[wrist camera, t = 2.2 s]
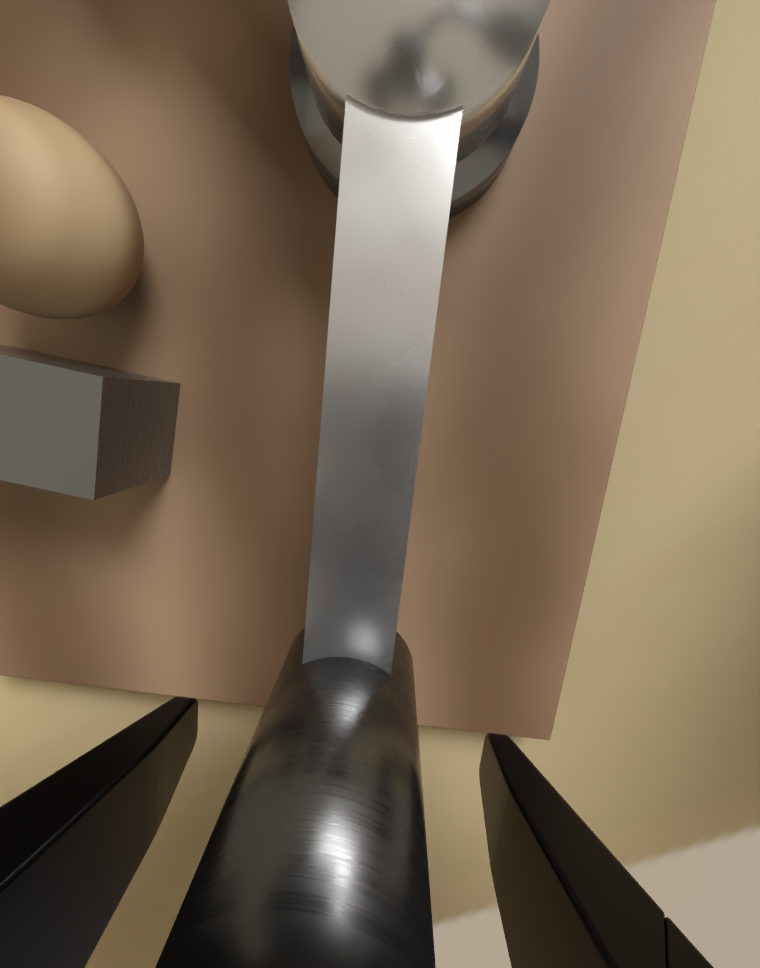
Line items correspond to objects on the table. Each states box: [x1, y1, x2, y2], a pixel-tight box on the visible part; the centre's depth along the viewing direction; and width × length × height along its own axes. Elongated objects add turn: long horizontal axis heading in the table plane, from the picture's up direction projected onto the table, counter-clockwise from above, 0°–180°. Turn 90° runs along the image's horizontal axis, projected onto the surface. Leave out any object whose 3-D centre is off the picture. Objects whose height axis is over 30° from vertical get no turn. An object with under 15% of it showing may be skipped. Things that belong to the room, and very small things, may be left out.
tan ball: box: [0, 95, 144, 319], centre depth 8 cm, size 4×4×4 cm
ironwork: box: [0, 25, 540, 500], centre depth 8 cm, size 15×5×3 cm, turn 129°
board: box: [0, 0, 716, 740], centre depth 10 cm, size 17×25×1 cm
